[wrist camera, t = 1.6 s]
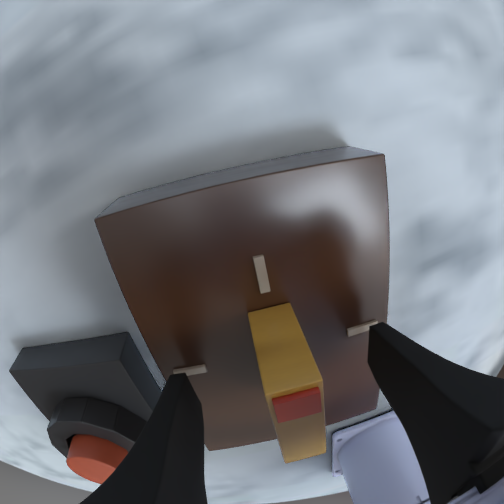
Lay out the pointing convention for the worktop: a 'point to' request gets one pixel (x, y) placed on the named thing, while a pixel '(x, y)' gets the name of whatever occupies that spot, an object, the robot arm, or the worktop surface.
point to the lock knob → (289, 382)
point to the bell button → (94, 457)
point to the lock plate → (258, 278)
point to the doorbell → (89, 388)
